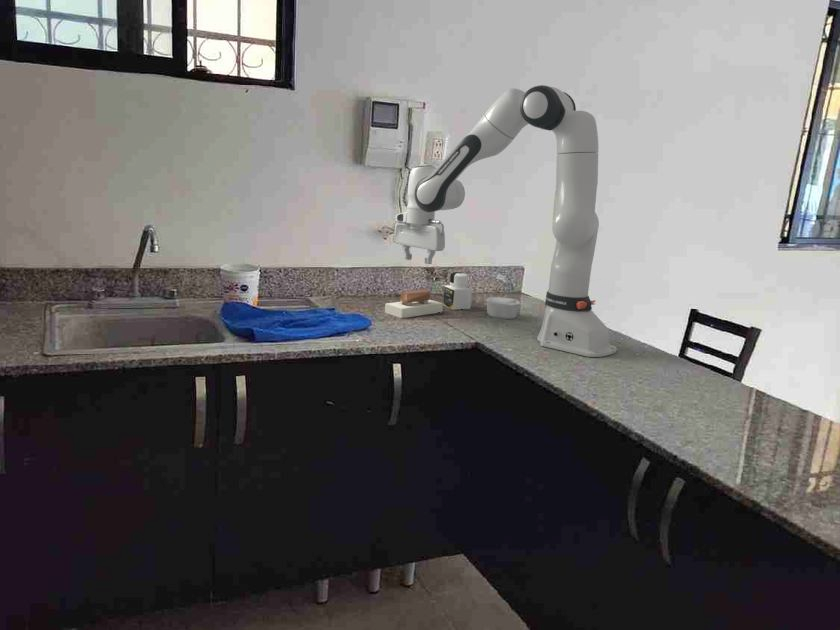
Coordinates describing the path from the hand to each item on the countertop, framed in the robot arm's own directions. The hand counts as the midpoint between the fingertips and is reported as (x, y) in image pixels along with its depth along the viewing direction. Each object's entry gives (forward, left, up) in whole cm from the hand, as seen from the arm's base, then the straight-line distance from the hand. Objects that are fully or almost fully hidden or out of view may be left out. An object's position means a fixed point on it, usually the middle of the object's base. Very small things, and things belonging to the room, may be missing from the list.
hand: (417, 261), depth 212 cm
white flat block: (0, 0, -17) cm, 17 cm away
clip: (0, 0, -17) cm, 17 cm away
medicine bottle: (-1, -19, -17) cm, 25 cm away
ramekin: (-17, -24, -17) cm, 34 cm away
